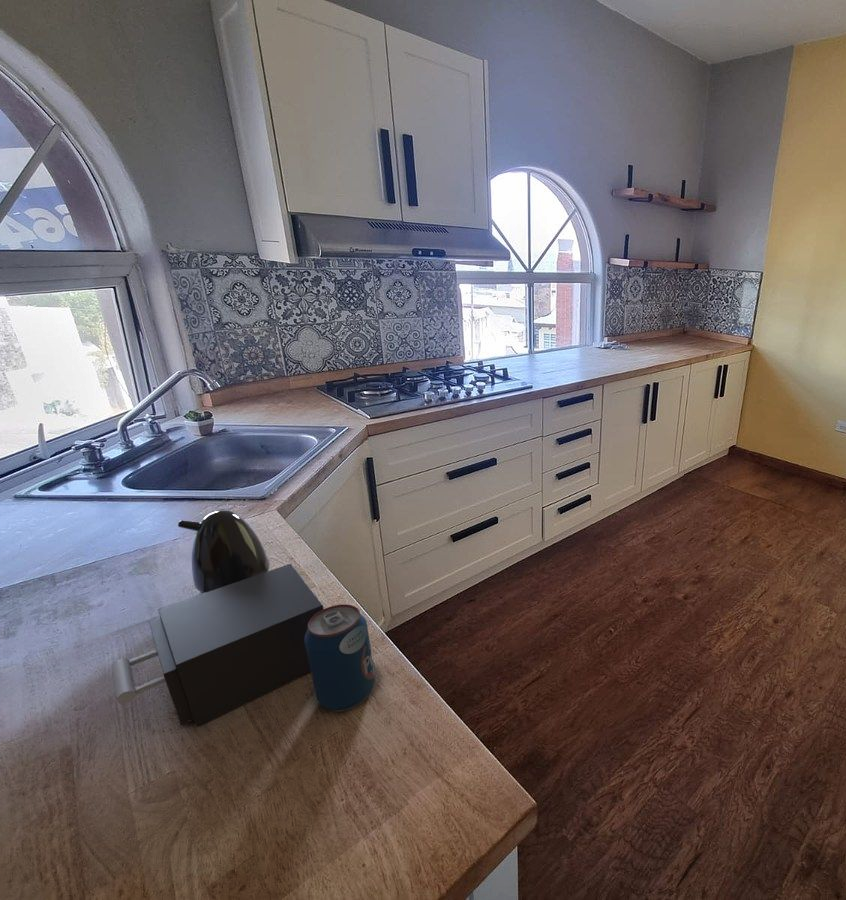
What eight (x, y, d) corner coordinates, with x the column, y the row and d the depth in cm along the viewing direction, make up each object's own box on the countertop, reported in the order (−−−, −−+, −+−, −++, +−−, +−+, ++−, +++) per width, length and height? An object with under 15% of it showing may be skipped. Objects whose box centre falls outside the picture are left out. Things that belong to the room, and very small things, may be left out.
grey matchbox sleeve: (196, 728, 60) (175, 665, 57) (176, 666, 69) (157, 608, 65) (333, 660, 71) (323, 604, 67) (301, 614, 79) (290, 563, 76)
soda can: (385, 695, 65) (373, 620, 61) (327, 726, 61) (311, 647, 57) (365, 665, 70) (353, 594, 66) (311, 691, 65) (294, 617, 61)
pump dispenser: (210, 581, 86) (188, 502, 81) (279, 570, 90) (262, 494, 85) (188, 618, 78) (162, 532, 72) (266, 605, 81) (246, 522, 76)
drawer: (132, 748, 56) (111, 695, 53) (121, 685, 64) (102, 637, 61) (313, 662, 69) (304, 616, 66) (285, 618, 77) (276, 576, 74)
